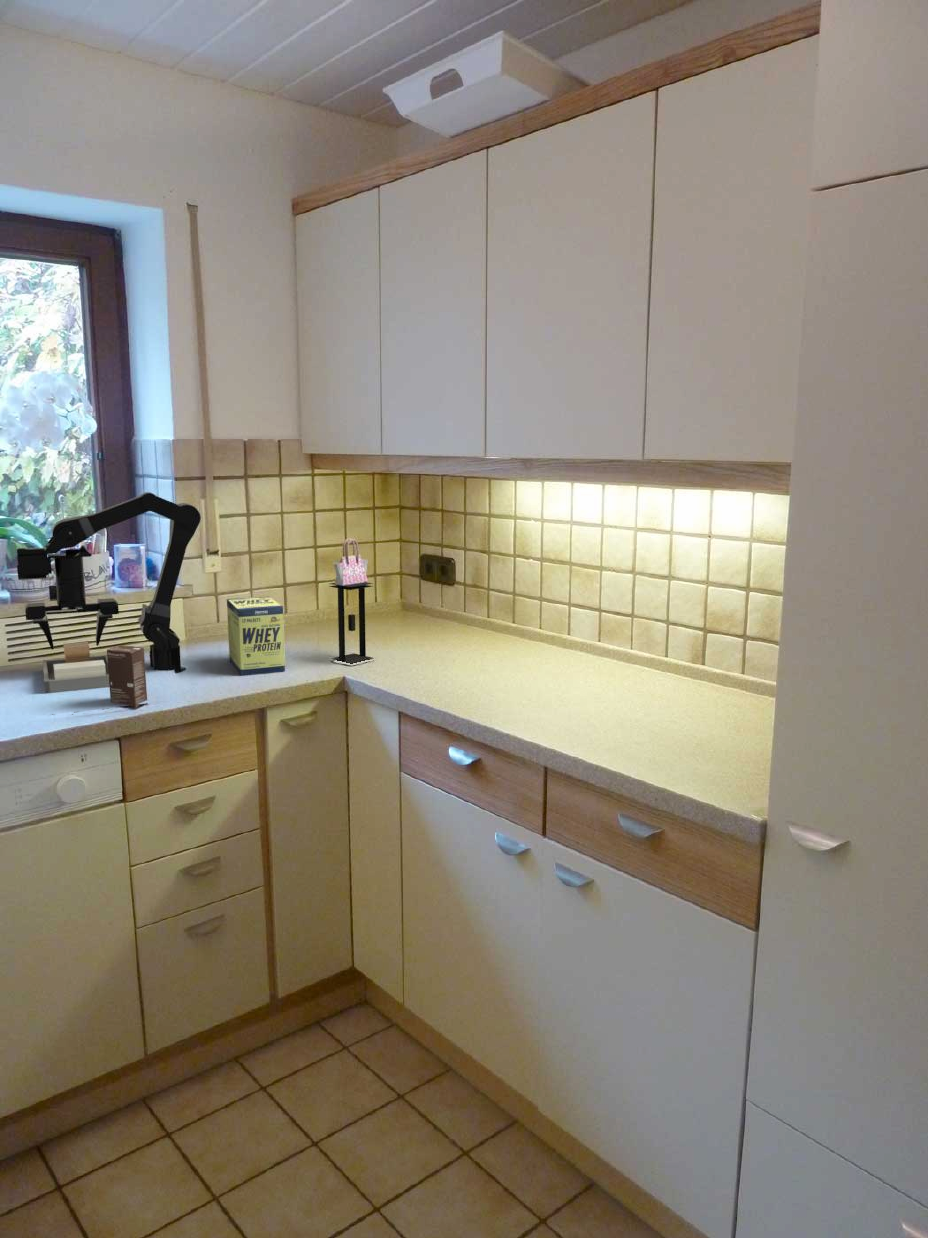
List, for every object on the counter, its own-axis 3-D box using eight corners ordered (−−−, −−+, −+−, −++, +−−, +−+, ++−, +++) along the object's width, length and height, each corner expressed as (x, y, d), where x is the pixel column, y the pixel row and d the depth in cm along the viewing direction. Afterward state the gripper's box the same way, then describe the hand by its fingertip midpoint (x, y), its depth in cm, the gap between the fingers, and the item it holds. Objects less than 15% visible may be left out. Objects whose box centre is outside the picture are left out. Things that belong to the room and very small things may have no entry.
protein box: (241, 676, 210) (238, 609, 207) (228, 661, 224) (225, 598, 221) (286, 672, 215) (284, 606, 212) (271, 657, 229) (269, 595, 226)
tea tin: (91, 676, 205) (89, 646, 204) (67, 679, 203) (64, 648, 202) (89, 671, 210) (87, 641, 208) (65, 673, 208) (63, 643, 206)
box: (109, 707, 186) (105, 649, 183) (124, 701, 190) (120, 644, 188) (135, 710, 184) (131, 651, 182) (149, 704, 188) (145, 646, 186)
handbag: (357, 655, 231) (355, 535, 225) (378, 660, 226) (377, 537, 220) (325, 662, 223) (322, 538, 218) (346, 667, 219) (343, 541, 213)
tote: (117, 690, 198) (116, 674, 197) (46, 698, 192) (44, 681, 191) (109, 669, 216) (108, 654, 215) (43, 675, 210) (42, 660, 209)
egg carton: (106, 685, 198) (105, 664, 197) (55, 690, 194) (54, 669, 193) (104, 679, 203) (103, 659, 202) (55, 684, 199) (53, 664, 198)
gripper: (112, 570, 213) (116, 636, 216) (22, 574, 205) (28, 643, 208) (116, 577, 203) (121, 646, 206) (22, 582, 195) (28, 653, 198)
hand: (75, 647), depth 205 cm, fingers open, 9 cm apart
